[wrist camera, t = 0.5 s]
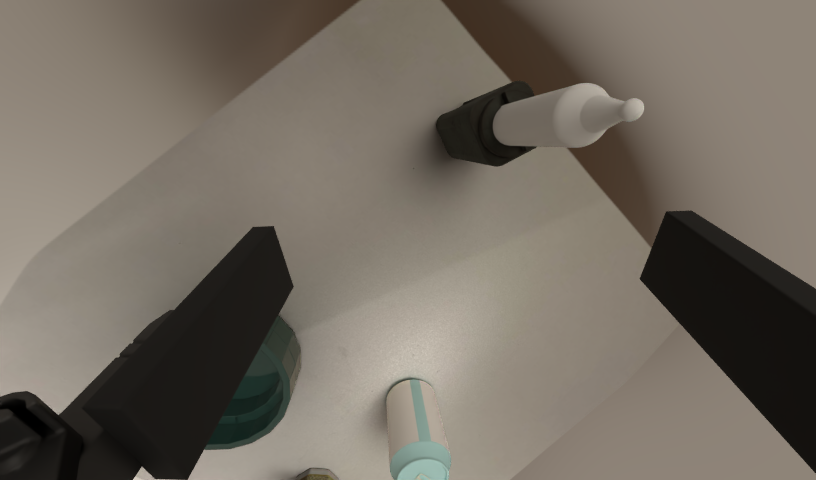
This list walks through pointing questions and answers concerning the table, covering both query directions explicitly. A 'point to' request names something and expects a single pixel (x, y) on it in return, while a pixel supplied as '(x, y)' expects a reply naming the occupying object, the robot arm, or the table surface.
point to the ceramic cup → (317, 475)
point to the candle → (530, 121)
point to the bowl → (261, 391)
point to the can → (416, 433)
